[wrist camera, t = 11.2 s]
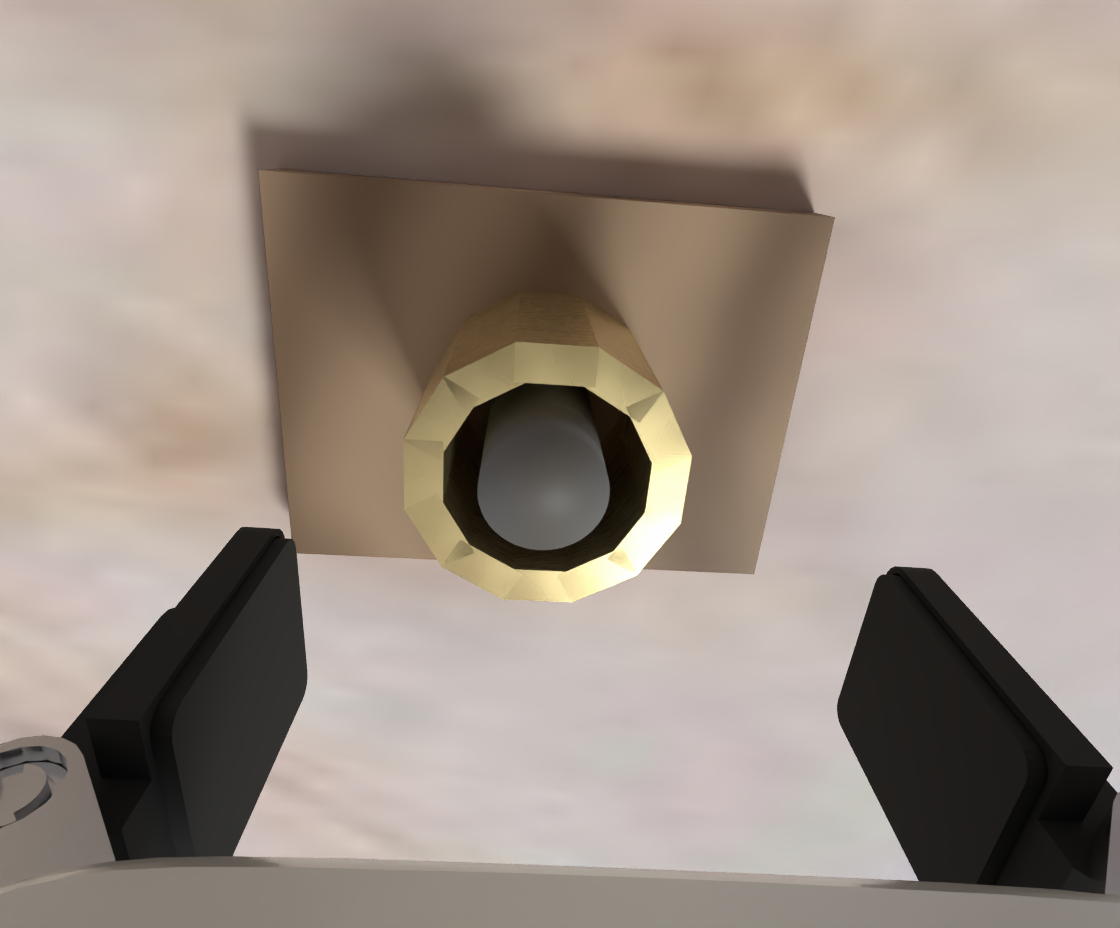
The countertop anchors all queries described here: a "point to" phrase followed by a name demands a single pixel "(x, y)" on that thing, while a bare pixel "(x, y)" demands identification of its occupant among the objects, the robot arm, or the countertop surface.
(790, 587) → the countertop surface
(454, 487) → the wooden cup
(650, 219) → the post stand
